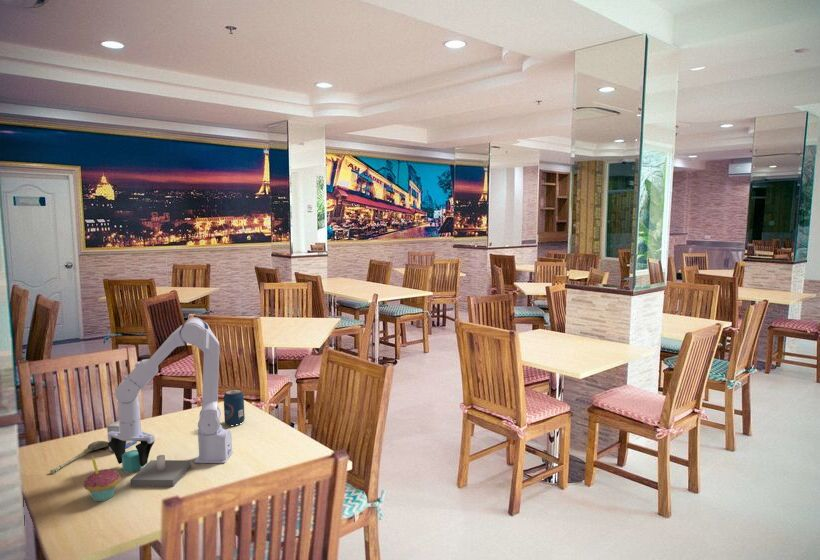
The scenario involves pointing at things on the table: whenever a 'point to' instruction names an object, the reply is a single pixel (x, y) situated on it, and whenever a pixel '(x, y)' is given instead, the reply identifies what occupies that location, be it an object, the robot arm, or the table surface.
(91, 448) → the soupspoon
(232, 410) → the soda can
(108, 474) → the cupcake
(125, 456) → the cap
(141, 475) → the stud stand
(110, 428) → the medicine box
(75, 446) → the table surface
